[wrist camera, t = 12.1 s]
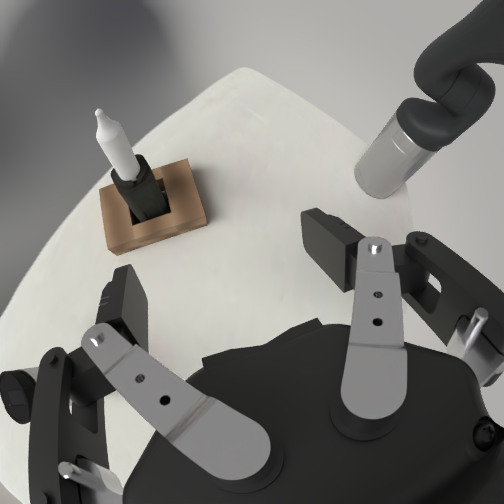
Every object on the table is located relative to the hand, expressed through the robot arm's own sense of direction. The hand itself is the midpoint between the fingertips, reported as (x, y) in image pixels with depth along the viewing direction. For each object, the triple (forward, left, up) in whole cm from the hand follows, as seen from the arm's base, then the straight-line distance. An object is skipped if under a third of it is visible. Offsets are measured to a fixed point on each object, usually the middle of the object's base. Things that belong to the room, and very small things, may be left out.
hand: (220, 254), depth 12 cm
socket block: (+7, -19, -30) cm, 36 cm away
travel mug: (+27, +5, -30) cm, 41 cm away
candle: (+7, -18, -30) cm, 36 cm away
